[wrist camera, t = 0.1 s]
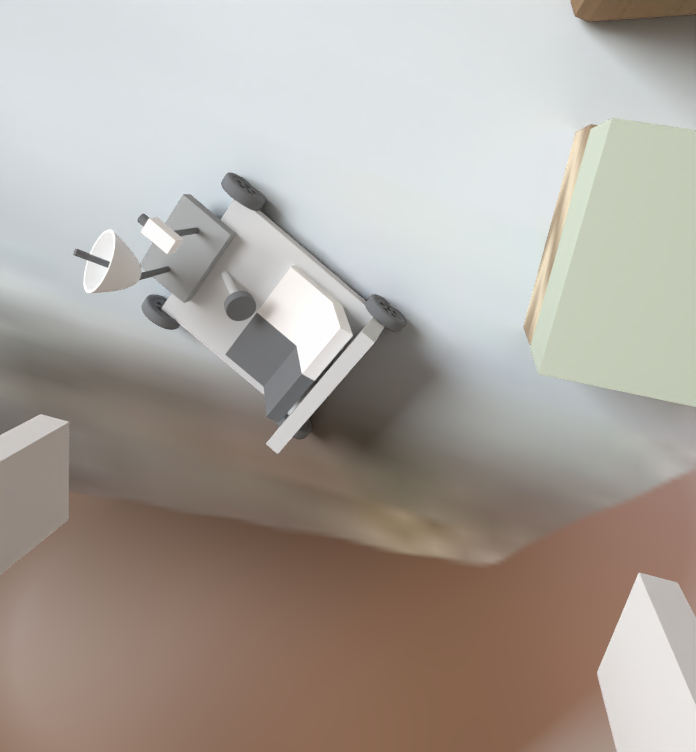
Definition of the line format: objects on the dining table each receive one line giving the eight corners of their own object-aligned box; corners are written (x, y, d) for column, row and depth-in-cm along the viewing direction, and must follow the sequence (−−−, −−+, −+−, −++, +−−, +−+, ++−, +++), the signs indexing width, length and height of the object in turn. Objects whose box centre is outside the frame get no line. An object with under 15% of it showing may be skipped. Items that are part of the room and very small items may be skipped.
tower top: (590, 129, 30) (612, 118, 25) (843, 166, 28) (916, 162, 23) (529, 348, 34) (538, 374, 29) (747, 393, 32) (794, 427, 27)
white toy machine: (35, 300, 34) (127, 134, 30) (127, 276, 43) (208, 146, 39) (268, 492, 35) (389, 356, 31) (310, 429, 44) (409, 318, 40)
